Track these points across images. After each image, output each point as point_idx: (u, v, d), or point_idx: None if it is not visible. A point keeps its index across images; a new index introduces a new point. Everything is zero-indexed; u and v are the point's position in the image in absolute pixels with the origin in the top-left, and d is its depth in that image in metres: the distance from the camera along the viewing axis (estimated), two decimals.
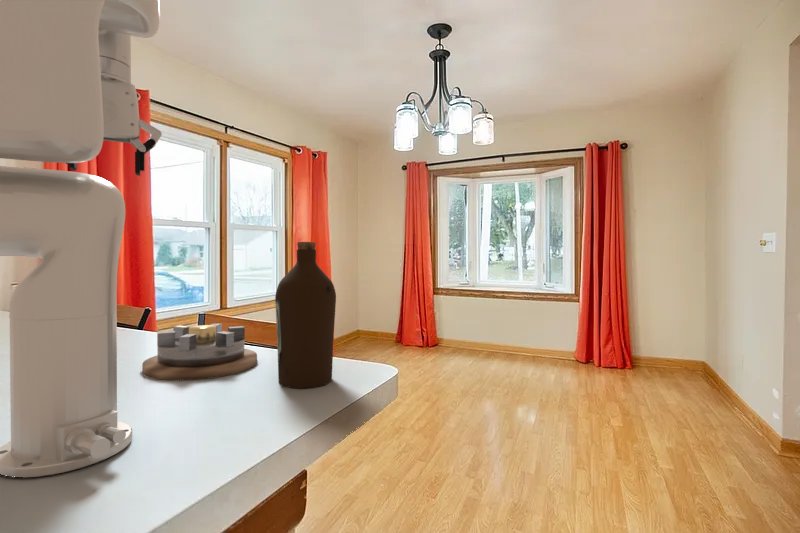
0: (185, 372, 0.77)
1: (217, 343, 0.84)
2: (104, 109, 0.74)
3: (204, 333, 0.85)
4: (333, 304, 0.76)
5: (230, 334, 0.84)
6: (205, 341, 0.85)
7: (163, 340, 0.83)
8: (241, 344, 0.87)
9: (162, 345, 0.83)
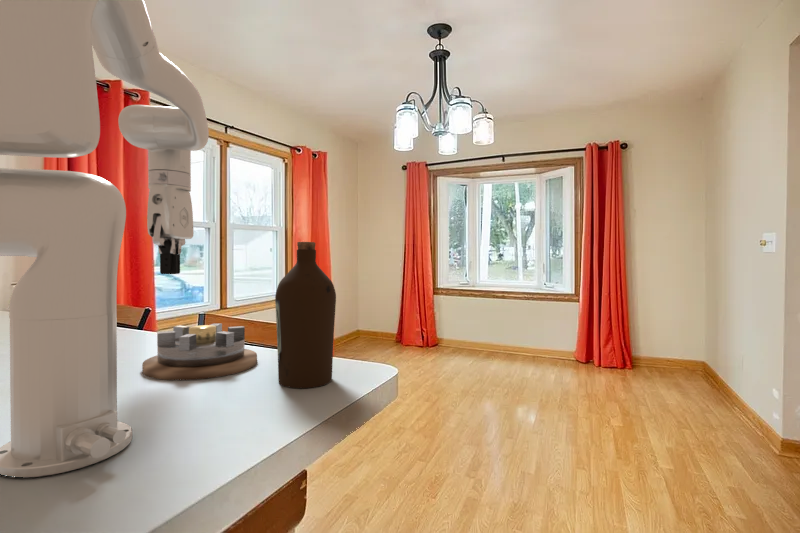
0: (185, 372, 0.77)
1: (217, 343, 0.84)
2: (184, 217, 0.87)
3: (204, 333, 0.85)
4: (333, 304, 0.76)
5: (230, 334, 0.84)
6: (205, 341, 0.85)
7: (163, 340, 0.83)
8: (241, 344, 0.87)
9: (162, 345, 0.83)
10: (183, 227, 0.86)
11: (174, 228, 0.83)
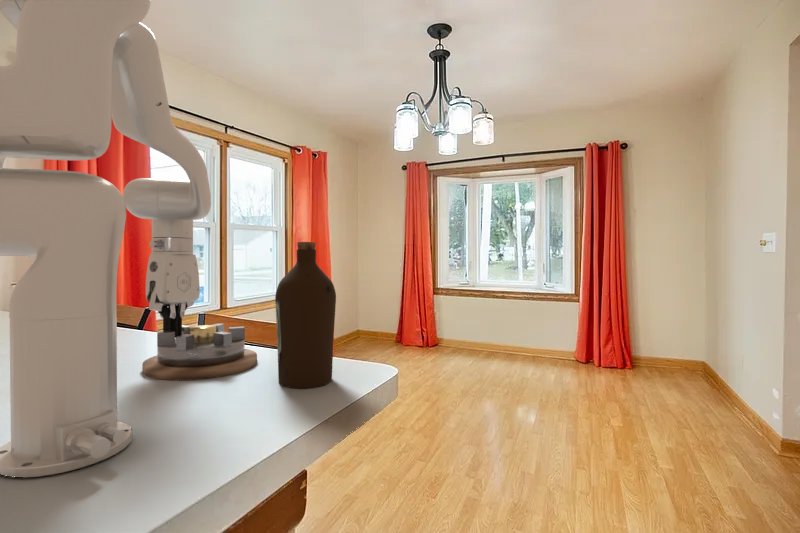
0: (185, 372, 0.77)
1: (215, 343, 0.84)
2: (184, 281, 0.87)
3: (203, 333, 0.85)
4: (333, 304, 0.76)
5: (227, 334, 0.83)
6: (204, 341, 0.85)
7: (163, 340, 0.83)
8: (240, 345, 0.87)
9: (162, 345, 0.83)
10: (182, 291, 0.87)
11: (168, 294, 0.84)
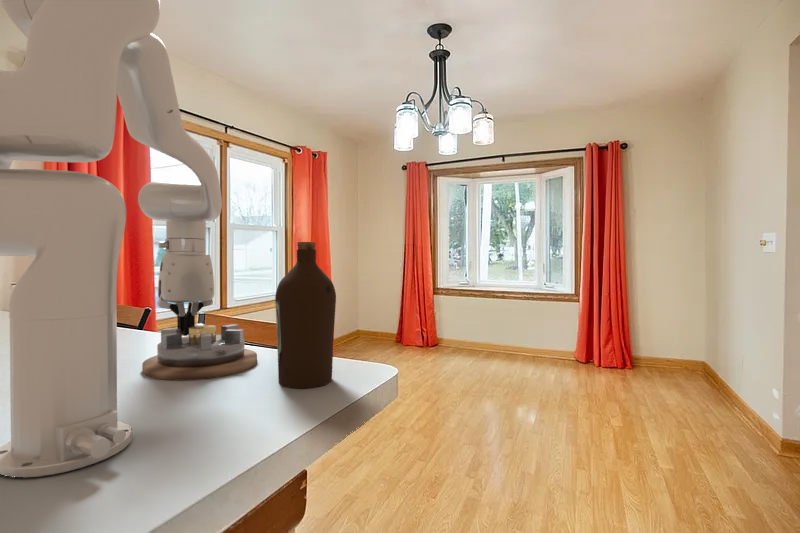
0: (185, 372, 0.77)
1: None
2: (191, 280, 0.89)
3: (196, 333, 0.85)
4: (333, 304, 0.76)
5: (206, 337, 0.80)
6: (197, 341, 0.85)
7: None
8: (225, 349, 0.83)
9: None
10: (188, 291, 0.89)
11: (170, 293, 0.87)
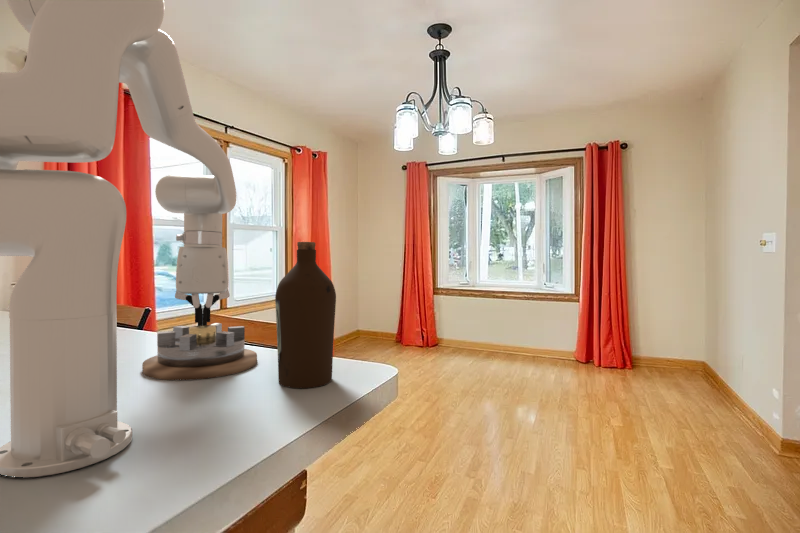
0: (185, 372, 0.77)
1: None
2: (202, 272, 0.90)
3: (191, 332, 0.85)
4: (333, 304, 0.76)
5: (185, 338, 0.79)
6: None
7: (176, 333, 0.90)
8: (206, 351, 0.80)
9: (175, 338, 0.90)
10: (199, 283, 0.90)
11: (181, 285, 0.89)
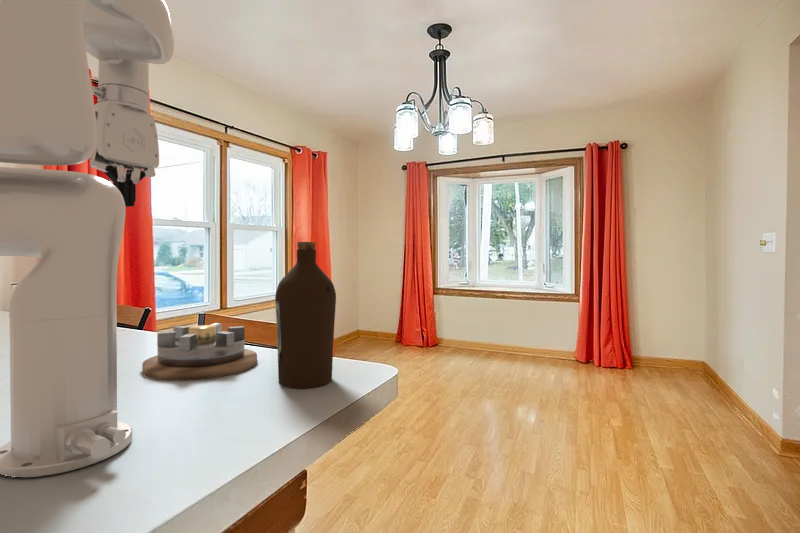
0: (185, 372, 0.77)
1: None
2: (133, 139, 0.75)
3: (191, 332, 0.85)
4: (333, 304, 0.76)
5: (185, 338, 0.79)
6: None
7: (176, 333, 0.90)
8: (206, 351, 0.80)
9: (175, 338, 0.90)
10: (130, 151, 0.75)
11: (110, 149, 0.72)
